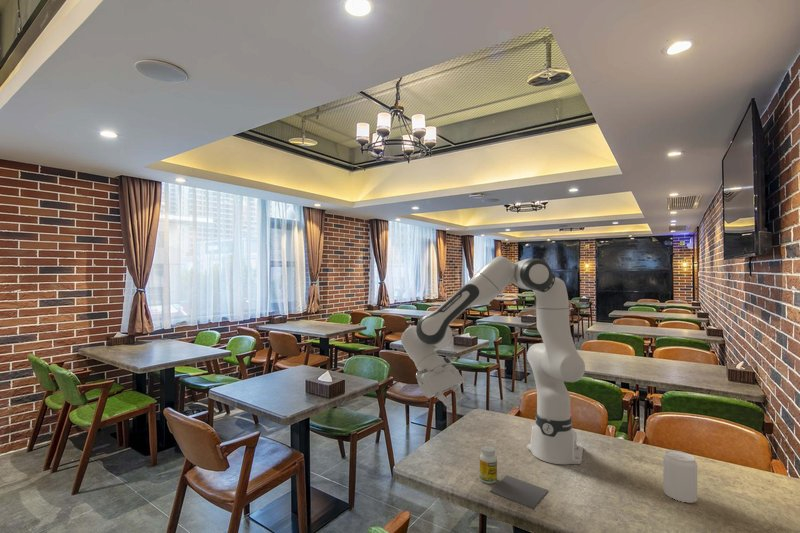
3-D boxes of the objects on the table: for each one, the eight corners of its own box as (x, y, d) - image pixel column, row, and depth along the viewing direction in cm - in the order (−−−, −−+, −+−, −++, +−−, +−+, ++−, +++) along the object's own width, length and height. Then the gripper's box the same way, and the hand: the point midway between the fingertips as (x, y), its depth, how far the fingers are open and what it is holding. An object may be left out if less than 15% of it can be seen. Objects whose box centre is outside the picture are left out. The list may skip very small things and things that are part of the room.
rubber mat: (506, 476, 123) (506, 475, 123) (548, 491, 115) (548, 490, 115) (489, 491, 114) (489, 490, 114) (533, 509, 106) (533, 508, 106)
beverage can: (698, 508, 108) (698, 464, 108) (663, 498, 112) (663, 457, 113) (695, 494, 115) (695, 453, 115) (662, 486, 119) (662, 447, 119)
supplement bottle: (487, 473, 124) (488, 443, 125) (500, 481, 120) (501, 449, 120) (475, 478, 121) (476, 447, 122) (488, 486, 117) (488, 453, 117)
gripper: (419, 366, 126) (444, 403, 120) (452, 357, 142) (475, 390, 136) (408, 378, 129) (431, 414, 122) (441, 368, 145) (464, 400, 138)
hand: (455, 401), depth 129 cm, fingers open, 7 cm apart
